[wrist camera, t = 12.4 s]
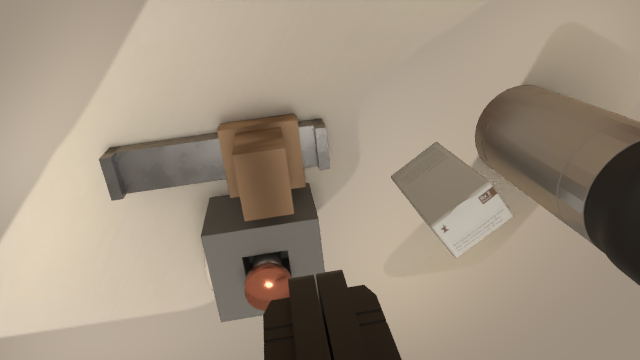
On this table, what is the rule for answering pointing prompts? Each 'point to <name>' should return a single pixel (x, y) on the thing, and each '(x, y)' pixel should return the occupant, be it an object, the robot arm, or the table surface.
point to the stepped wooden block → (263, 164)
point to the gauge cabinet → (257, 247)
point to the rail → (190, 160)
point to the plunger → (266, 280)
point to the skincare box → (452, 198)
